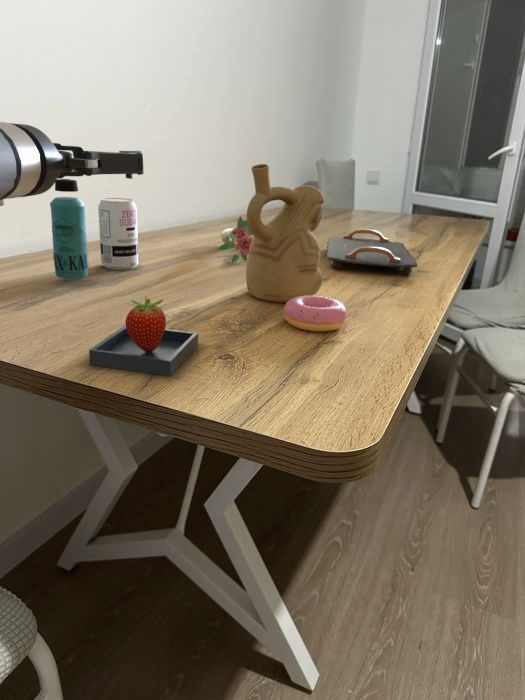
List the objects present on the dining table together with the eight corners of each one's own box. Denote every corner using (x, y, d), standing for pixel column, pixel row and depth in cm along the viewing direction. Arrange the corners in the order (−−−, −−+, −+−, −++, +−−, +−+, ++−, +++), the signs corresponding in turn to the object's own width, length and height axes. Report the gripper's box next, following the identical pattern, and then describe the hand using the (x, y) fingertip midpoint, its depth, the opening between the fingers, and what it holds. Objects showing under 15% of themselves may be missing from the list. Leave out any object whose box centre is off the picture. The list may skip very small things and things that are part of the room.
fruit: (147, 361, 68) (146, 303, 65) (119, 352, 71) (116, 295, 68) (174, 350, 73) (174, 295, 70) (147, 341, 75) (145, 288, 72)
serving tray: (418, 279, 126) (423, 253, 124) (324, 270, 128) (326, 245, 126) (400, 250, 162) (403, 230, 160) (326, 244, 164) (328, 224, 162)
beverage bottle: (56, 278, 107) (47, 176, 99) (90, 278, 109) (83, 178, 101) (54, 287, 101) (45, 179, 93) (90, 286, 103) (83, 181, 96)
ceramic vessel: (341, 297, 106) (356, 169, 97) (274, 313, 93) (285, 167, 84) (281, 279, 117) (290, 163, 108) (214, 292, 104) (218, 160, 95)
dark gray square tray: (89, 364, 68) (88, 350, 67) (127, 336, 78) (126, 323, 77) (170, 376, 66) (170, 361, 65) (198, 346, 76) (198, 332, 75)
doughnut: (359, 328, 88) (362, 305, 87) (310, 338, 82) (312, 313, 81) (317, 311, 96) (319, 289, 95) (269, 319, 90) (271, 296, 89)
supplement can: (109, 261, 124) (106, 196, 118) (143, 264, 123) (141, 199, 118) (95, 268, 116) (91, 200, 111) (131, 271, 116) (129, 202, 110)
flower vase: (239, 271, 155) (267, 272, 122) (201, 258, 152) (218, 256, 118) (251, 233, 154) (283, 224, 121) (212, 219, 151) (233, 206, 117)
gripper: (-93, 189, 57) (14, 179, 77) (125, 206, 55) (177, 191, 75) (-107, 115, 55) (7, 124, 74) (122, 130, 53) (177, 135, 72)
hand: (93, 157), depth 75 cm, fingers open, 13 cm apart
